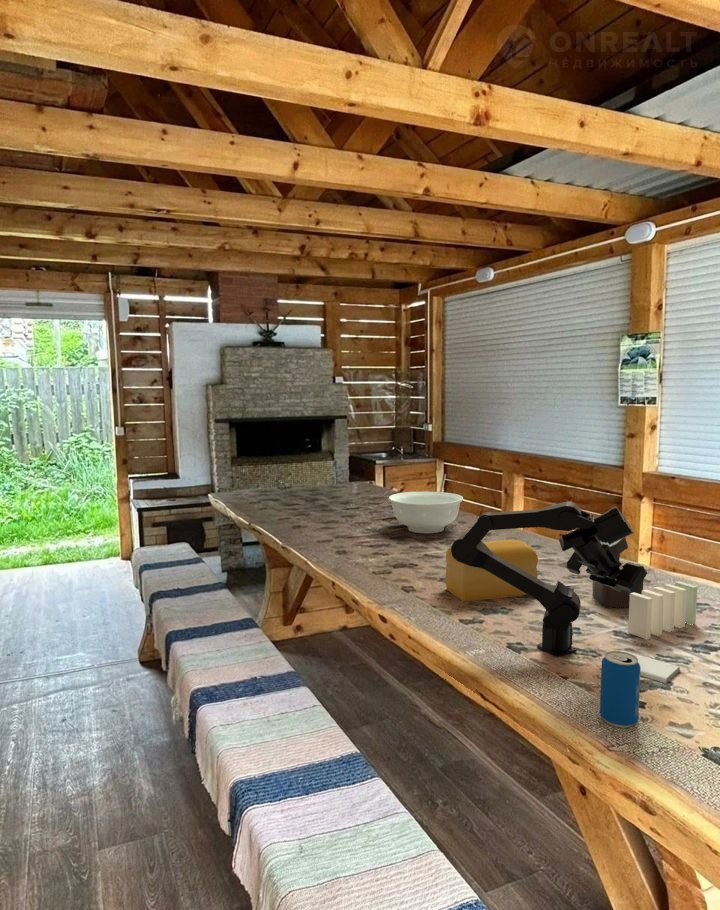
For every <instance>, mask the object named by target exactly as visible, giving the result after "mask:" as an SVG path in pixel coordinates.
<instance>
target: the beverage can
mask: <svg viewBox="0 0 720 910" xmlns="http://www.w3.org/2000/svg"><path fill="white" fill-rule="evenodd" d="M627 652H628V651H626V652H622V651H621V650H609V651H606V652H605V653H604V654H603V655H604V657H603V658H602V659H601V666H600V667H601V670H600V694H599V695H600V699H599V715H600V717H601V719H603V720H604V721H605V722H606V723H607V724H608V725H610V726H613V727H616V728H621V729H626V728H631V727H632V726H634V725H636V724H638V723H639V709H640V689H641V675H640V664H639V663H638V658H637V657H636V656H634V655H632V654H630V653H631V652H630V653H627Z"/></svg>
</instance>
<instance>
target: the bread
mask: <svg viewBox="0 0 720 910" xmlns="http://www.w3.org/2000/svg"><path fill="white" fill-rule="evenodd" d="M482 542H483V543H484V544H485V545H486V546H487V547H488V548H489V549H490V550H491V552H492V553H494V554H495V555H497V556H499V557H501V558H502V559H504V560H506V561H508V562H509V563H511V564H513V565H515V566H516V567H518V568H520V569H522V570H523V571H525V572H527V573H529V574H530V575H532V576H534V577H536V578H537V579H538V568H537V566H538V563H539V556H538V554H537V552H536V550H535V549H534V548H533V547H532V546H530V545H529V544H528V543H526V542H524V541H522V540H515V539H508V540H507V539H504V540H492V541H491V540H490V541H482ZM451 547H452V546H450V547H449V548H448V549H447V551H446V553H445V560H446V566H445V567H446V568H445V586H446V590H447V591H448V592H449V593H451V594H452V595H453V596H455V597H456V598H458V599H459V600H461V601H462V602H473V601H483V600H490V599H492V600H493V599H500V598H502V599H503V598H509V597H519V596H528V595H527V594H526V593H524V592H522V591H520V590H519V589H517V588H515V587H514V586H512V585H510V584H508V583H507V582H505V581H503V580H502V579H500V578H498V577H496V576H495V575H493V574H491V573H490V572H488V571H486V570H484V569H481V568H476V567H471V566H468V565H466V564H463V563H461V562H458V561H456V560H455V559H454V558H453V556H452V553H451Z"/></svg>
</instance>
